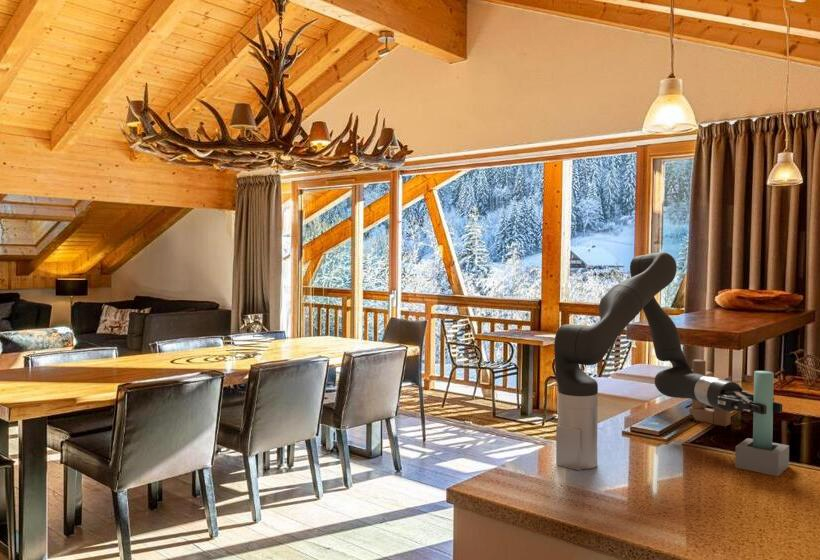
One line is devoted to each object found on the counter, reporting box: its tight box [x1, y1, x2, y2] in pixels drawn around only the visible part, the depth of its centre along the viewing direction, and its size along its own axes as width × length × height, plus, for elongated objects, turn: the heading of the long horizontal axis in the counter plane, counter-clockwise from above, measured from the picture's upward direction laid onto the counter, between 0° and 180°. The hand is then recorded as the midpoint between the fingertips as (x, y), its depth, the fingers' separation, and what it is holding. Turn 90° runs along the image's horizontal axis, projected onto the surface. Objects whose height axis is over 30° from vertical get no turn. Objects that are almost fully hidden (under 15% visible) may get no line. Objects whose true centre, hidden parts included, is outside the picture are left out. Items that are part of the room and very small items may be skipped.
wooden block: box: [688, 359, 732, 427], centre depth 192 cm, size 4×11×18 cm, turn 42°
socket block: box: [734, 437, 790, 477], centre depth 152 cm, size 9×9×5 cm
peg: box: [752, 370, 775, 451], centre depth 152 cm, size 4×4×18 cm
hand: (772, 409), depth 149 cm, fingers closed on peg, 4 cm apart
